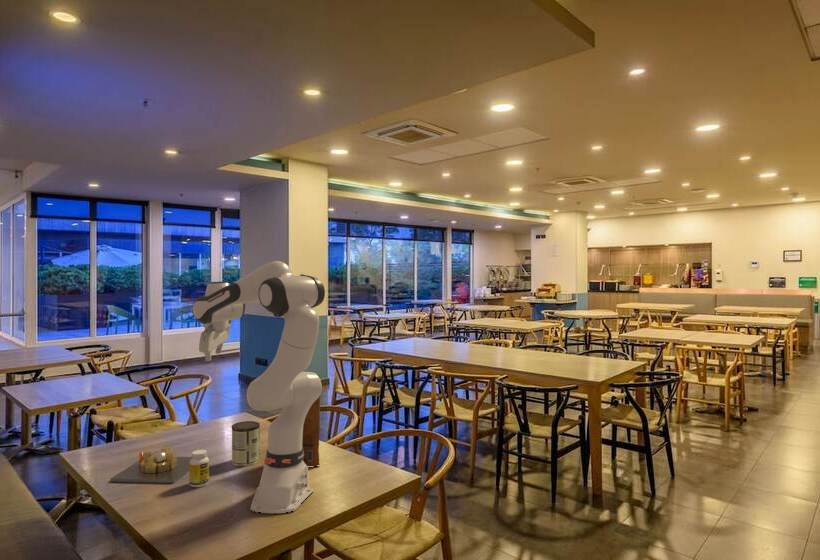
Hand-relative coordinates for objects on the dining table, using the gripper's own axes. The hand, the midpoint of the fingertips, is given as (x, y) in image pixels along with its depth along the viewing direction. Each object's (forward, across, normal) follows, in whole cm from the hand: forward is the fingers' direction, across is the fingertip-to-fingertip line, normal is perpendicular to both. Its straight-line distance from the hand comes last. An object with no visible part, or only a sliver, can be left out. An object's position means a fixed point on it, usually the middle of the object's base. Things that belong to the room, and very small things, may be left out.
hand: (213, 356), depth 196 cm
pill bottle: (+35, -30, -10) cm, 47 cm away
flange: (+39, -18, +10) cm, 44 cm away
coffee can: (+37, -8, -18) cm, 42 cm away
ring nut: (+38, -17, +10) cm, 43 cm away
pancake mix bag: (+34, -9, -40) cm, 53 cm away
